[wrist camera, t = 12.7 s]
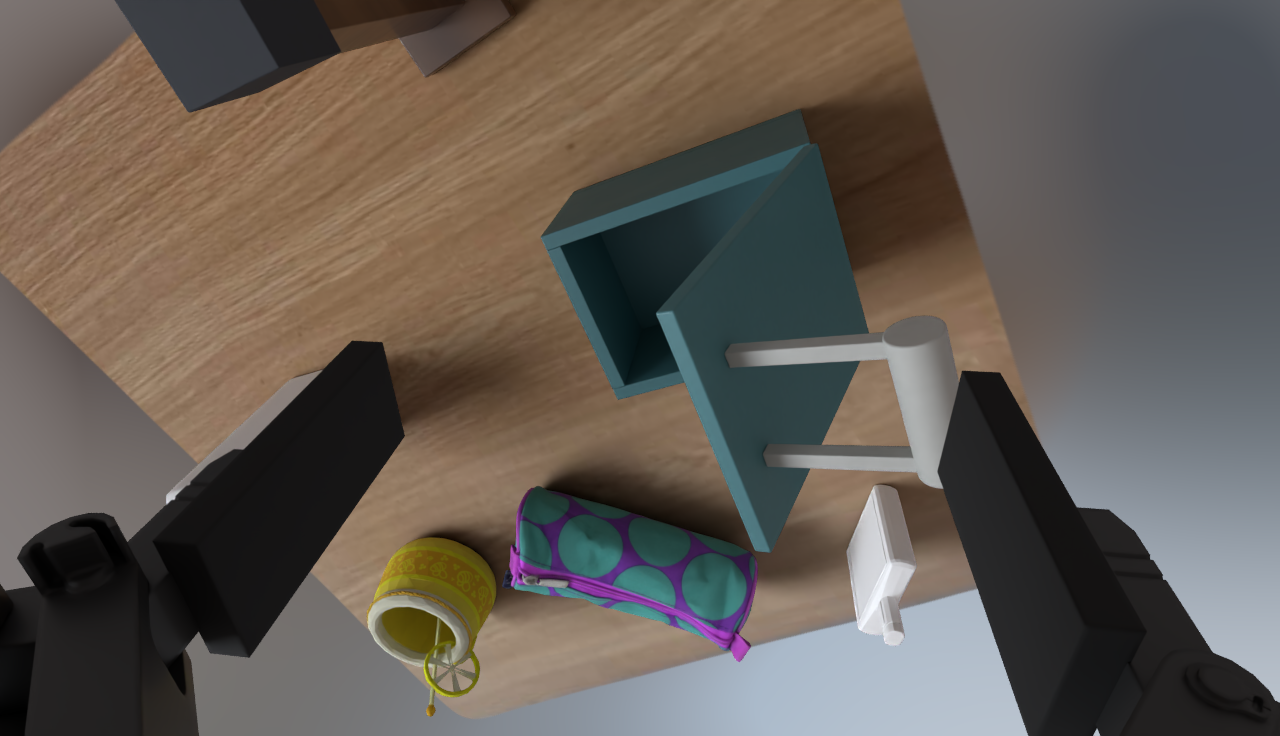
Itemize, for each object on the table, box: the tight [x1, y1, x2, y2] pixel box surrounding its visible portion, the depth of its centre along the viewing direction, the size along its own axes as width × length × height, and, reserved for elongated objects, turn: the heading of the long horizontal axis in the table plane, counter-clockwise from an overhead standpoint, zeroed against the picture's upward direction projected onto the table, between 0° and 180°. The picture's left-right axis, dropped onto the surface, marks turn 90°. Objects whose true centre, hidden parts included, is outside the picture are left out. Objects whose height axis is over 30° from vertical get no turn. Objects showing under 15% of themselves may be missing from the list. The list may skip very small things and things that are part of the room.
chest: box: [541, 109, 811, 400], centre depth 45 cm, size 16×12×9 cm
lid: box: [656, 143, 959, 553], centre depth 31 cm, size 17×12×9 cm
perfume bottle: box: [846, 485, 917, 646], centre depth 55 cm, size 8×2×12 cm, turn 172°
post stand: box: [314, 0, 516, 78], centre depth 36 cm, size 7×7×18 cm
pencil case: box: [502, 486, 758, 662], centre depth 60 cm, size 21×9×10 cm, turn 76°
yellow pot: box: [367, 537, 496, 717], centre depth 65 cm, size 13×11×12 cm
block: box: [115, 0, 341, 112], centre depth 26 cm, size 4×4×4 cm
